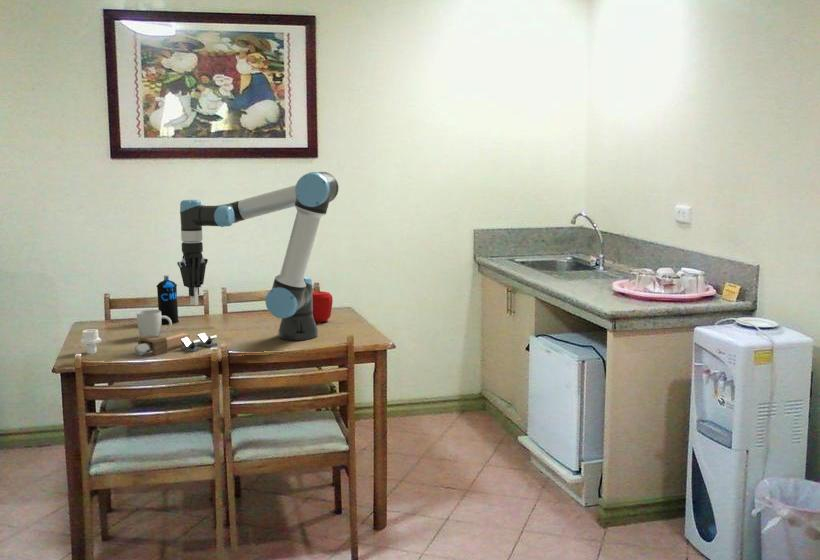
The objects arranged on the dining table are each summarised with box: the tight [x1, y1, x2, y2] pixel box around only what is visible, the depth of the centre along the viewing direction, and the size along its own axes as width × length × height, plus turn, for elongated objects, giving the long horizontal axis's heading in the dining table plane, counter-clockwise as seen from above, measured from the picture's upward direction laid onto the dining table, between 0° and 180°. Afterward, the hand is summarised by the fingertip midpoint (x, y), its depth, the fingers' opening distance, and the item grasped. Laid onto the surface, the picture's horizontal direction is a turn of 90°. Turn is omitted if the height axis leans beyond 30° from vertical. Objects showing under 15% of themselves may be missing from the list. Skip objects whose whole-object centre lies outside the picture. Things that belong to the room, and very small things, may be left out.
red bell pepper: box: [312, 289, 333, 324], centre depth 327 cm, size 11×10×14 cm
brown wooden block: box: [165, 332, 191, 348], centre depth 285 cm, size 3×10×4 cm, turn 149°
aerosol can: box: [156, 274, 180, 326], centre depth 325 cm, size 8×8×20 cm
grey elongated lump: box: [134, 342, 153, 357], centre depth 276 cm, size 10×4×4 cm, turn 147°
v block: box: [179, 332, 218, 353], centre depth 283 cm, size 7×11×4 cm, turn 148°
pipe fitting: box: [79, 328, 102, 355], centre depth 276 cm, size 6×7×8 cm
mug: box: [136, 309, 173, 337], centre depth 299 cm, size 13×9×10 cm
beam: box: [137, 335, 184, 357], centre depth 281 cm, size 9×21×5 cm, turn 148°
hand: (194, 304), depth 292 cm, fingers closed
